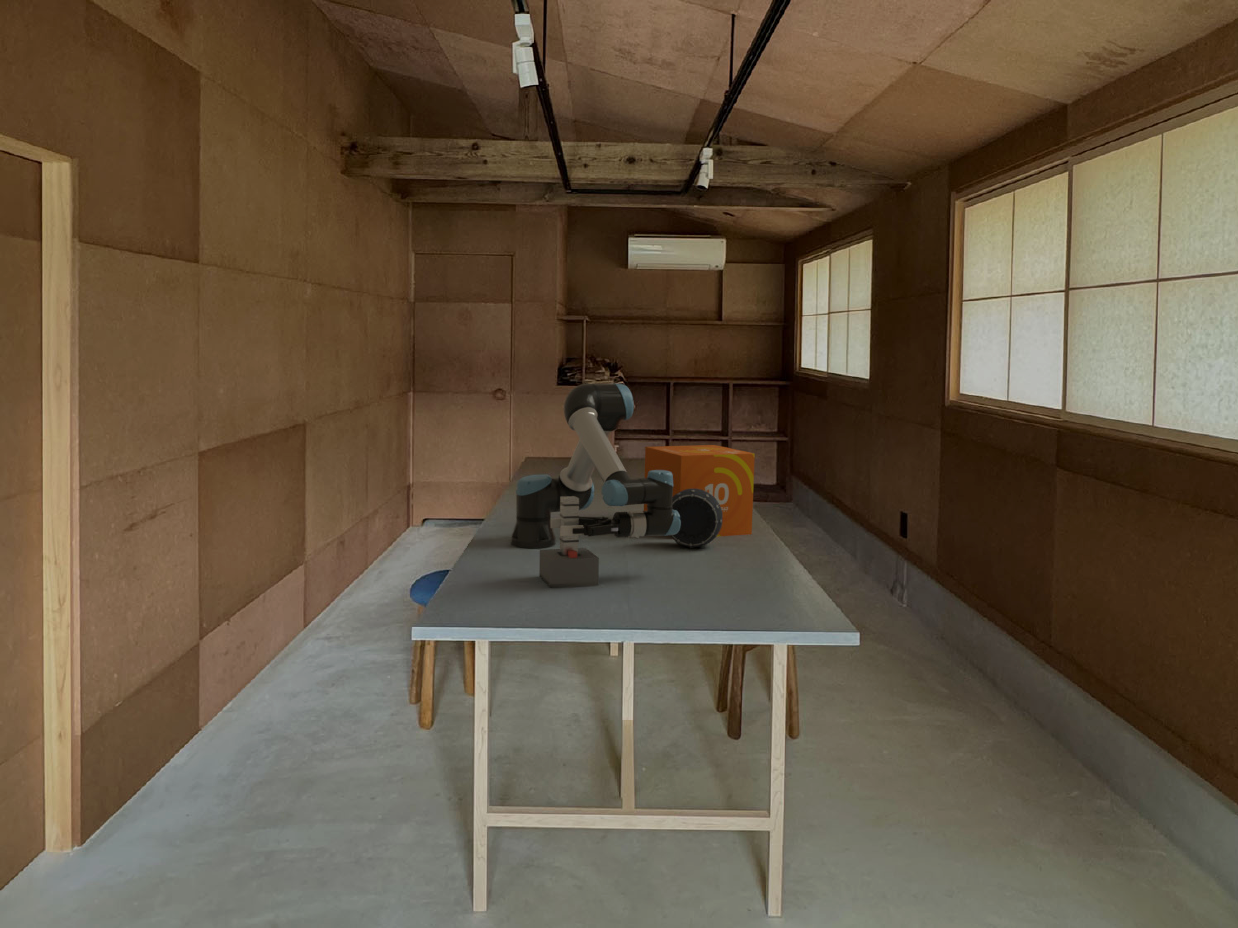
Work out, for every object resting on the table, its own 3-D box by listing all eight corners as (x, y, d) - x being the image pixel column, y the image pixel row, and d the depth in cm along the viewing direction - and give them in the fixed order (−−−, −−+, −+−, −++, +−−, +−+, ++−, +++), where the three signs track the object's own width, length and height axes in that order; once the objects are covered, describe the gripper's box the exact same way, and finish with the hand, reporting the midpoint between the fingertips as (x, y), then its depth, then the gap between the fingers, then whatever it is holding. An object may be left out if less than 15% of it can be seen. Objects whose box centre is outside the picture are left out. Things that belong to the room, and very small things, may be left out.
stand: (550, 587, 273) (551, 554, 272) (539, 576, 286) (539, 544, 285) (598, 585, 277) (599, 552, 276) (585, 573, 290) (585, 542, 289)
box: (678, 539, 345) (681, 455, 341) (643, 524, 372) (645, 446, 369) (751, 534, 357) (754, 453, 353) (712, 520, 384) (714, 444, 381)
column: (562, 578, 278) (563, 499, 276) (558, 574, 283) (559, 496, 280) (578, 577, 280) (579, 498, 277) (574, 573, 284) (575, 496, 282)
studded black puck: (720, 551, 326) (722, 492, 323) (661, 547, 330) (662, 489, 327) (723, 545, 336) (725, 488, 334) (666, 541, 340) (667, 485, 338)
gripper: (641, 544, 275) (565, 548, 268) (616, 529, 297) (546, 532, 290) (641, 518, 274) (566, 521, 267) (616, 505, 296) (546, 507, 289)
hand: (555, 527), depth 278 cm, fingers open, 11 cm apart
